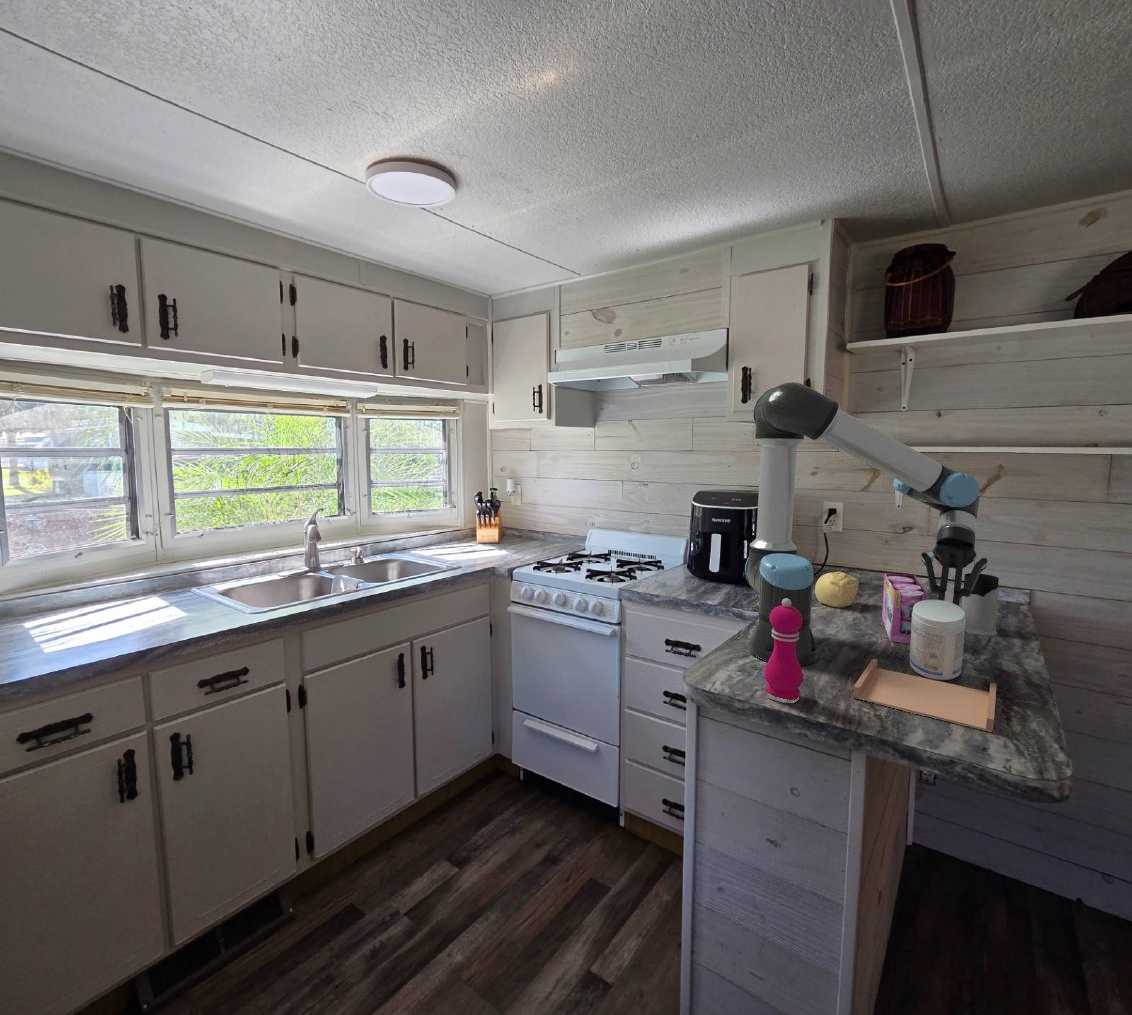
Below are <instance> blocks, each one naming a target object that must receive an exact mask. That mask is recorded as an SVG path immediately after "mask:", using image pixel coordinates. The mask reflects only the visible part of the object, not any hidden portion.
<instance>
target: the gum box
mask: <svg viewBox="0 0 1132 1015" xmlns="http://www.w3.org/2000/svg"><path fill="white" fill-rule="evenodd" d="M928 594H929V593H928V590H927V589H926V588H925V586H923V585H922V584H921V582H920V581H919V580H918V578H917V577H916V575H914V574H913V575H911V574H901V573H900V574H899V573H898V574H896V573H888V572H887V573H886V572H885V573H884V577H883V594H882V614H881V620H882V622H883V624H884V628H885V631H886V633H887V636H888V639H889V641H890V642H894V643H900V644H901V643H902V644H908V645H910V644H911V623H912V611H913V606H914V605H915V604H916V603H917V602H920V601H923V600H928V598H929V596H928Z"/></svg>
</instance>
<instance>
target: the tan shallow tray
mask: <svg viewBox="0 0 1132 1015" xmlns="http://www.w3.org/2000/svg"><path fill="white" fill-rule="evenodd" d="M878 663H879V662H878V659H877V658H876V659H875V658H872V659H871V661H869V664H868V665H867V666H866V668H865V669H864V670H863V672H862V673H861V675H860V676H859V678H858V680H857V681H856V683H855V684H854V686H853V692H852V693H853V694H852V698H853V697H855V698H859V699H862V700H867V701H868V702H874V703H876V704H881V705H884V706H887V707H886V708H888V707H891V708H890V709H892V708H895V709H894V710H896V709H900V710H903V711H902V712H904V711H905V713H908V712H910V713H909V714H912V713H913V714H912V715H916V714H919V715H918V716H920V715H922V716H921V717H924V716H929V717H932V718H934V720H936V719H941V720H944V721H949V722H953V723H956V724H961V725H964V726H970V727H974V728H977V729H983V730H987V731H993V732H994V724H995V712H996V700H997V699H996V698H997V685H998V684H997V683H992V682H989V691H985V690H981V689H977V688H972V687H967V686H963V685H959V684H953V683H948V682H945V681H941V680H936V679H931V678H927V677H921V676H918V675H911V674H908V673H902V672H898V671H894V670H888V669H883V668H880V667H878ZM868 702H867V703H868ZM876 704H875V705H876ZM884 706H883V707H884ZM900 710H899V711H900ZM932 718H931V719H932ZM944 721H943V722H944ZM956 724H955V725H956ZM964 726H963V727H964Z"/></svg>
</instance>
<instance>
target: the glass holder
mask: <svg viewBox="0 0 1132 1015" xmlns="http://www.w3.org/2000/svg"><path fill="white" fill-rule="evenodd" d="M970 574H971V572H969V573H964V576H963V588H964V587H965V585H966V582H967V580H968V578H969V576H970ZM948 578H951V579H953V580H954V581H955V576H954V575H949V574H948ZM940 581H941V579H940ZM940 581H939V582H940ZM999 582H1000V577H999V576H995V575H991V574H985V573H980V575H979V577H978V579H977V582H976V584H975V586H974V588H973V590H972V592H971V595H970V596H969V597H965V596H963V597H961V608H962V609H963V610H964V612H965V619H966V621H965V622H966V623H965V633H969V634H972V635H973V634H974V635H978V636H996V635H998V632H997V628H996V627H997V615H998V602H999V590H1000V588H999Z"/></svg>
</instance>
